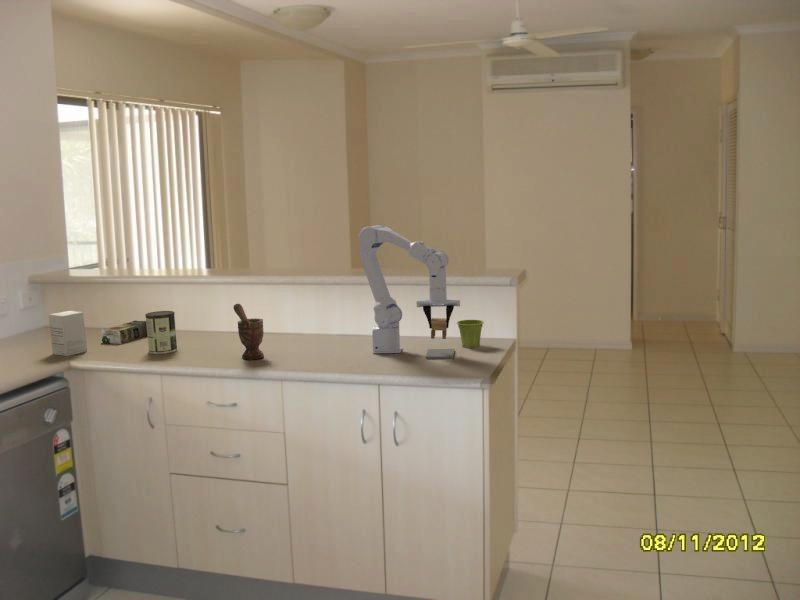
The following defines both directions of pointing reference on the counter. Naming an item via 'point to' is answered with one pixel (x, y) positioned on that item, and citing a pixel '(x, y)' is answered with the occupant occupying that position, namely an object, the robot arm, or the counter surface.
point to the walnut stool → (438, 327)
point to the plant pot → (470, 332)
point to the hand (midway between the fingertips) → (439, 327)
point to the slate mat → (440, 354)
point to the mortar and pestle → (249, 334)
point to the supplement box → (67, 333)
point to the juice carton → (125, 332)
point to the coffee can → (161, 332)
